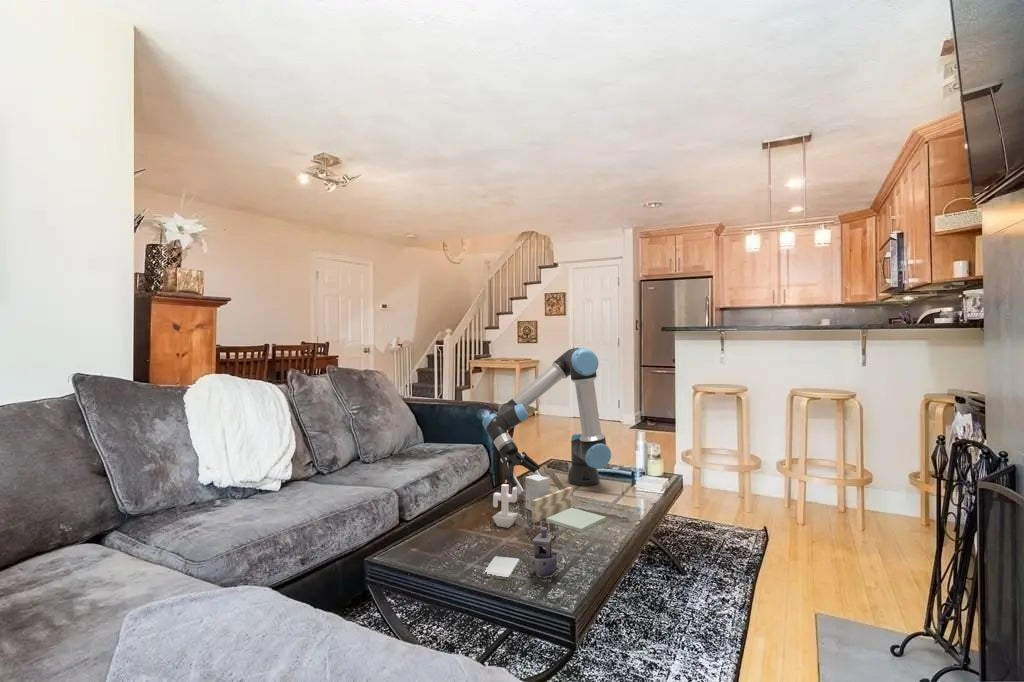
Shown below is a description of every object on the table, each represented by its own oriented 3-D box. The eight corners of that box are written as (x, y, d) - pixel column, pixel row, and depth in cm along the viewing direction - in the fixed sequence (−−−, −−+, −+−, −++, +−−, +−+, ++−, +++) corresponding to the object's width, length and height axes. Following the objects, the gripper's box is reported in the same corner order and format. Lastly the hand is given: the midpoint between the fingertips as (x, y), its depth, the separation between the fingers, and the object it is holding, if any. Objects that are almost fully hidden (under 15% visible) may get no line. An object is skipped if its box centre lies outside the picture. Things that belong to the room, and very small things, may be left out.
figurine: (497, 519, 193) (497, 480, 193) (520, 523, 189) (520, 483, 189) (489, 526, 186) (489, 485, 186) (512, 530, 183) (512, 488, 183)
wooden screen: (569, 506, 208) (569, 486, 208) (572, 506, 207) (572, 487, 207) (531, 521, 191) (531, 500, 191) (534, 522, 190) (534, 501, 190)
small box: (550, 510, 203) (549, 478, 203) (538, 513, 199) (538, 480, 199) (536, 505, 210) (536, 473, 210) (525, 508, 206) (524, 476, 206)
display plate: (571, 510, 203) (571, 507, 203) (605, 520, 192) (605, 516, 192) (546, 521, 191) (546, 518, 191) (581, 532, 180) (581, 528, 180)
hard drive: (494, 555, 159) (481, 573, 147) (519, 558, 157) (508, 576, 145) (494, 561, 159) (481, 579, 147) (519, 563, 157) (508, 582, 145)
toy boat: (537, 562, 156) (536, 519, 156) (562, 565, 154) (562, 521, 154) (524, 585, 142) (523, 538, 142) (552, 589, 139) (551, 541, 139)
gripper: (521, 447, 226) (547, 487, 216) (480, 456, 208) (506, 501, 198) (530, 436, 222) (557, 477, 212) (489, 445, 204) (516, 490, 194)
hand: (532, 488), depth 205 cm, fingers open, 13 cm apart
